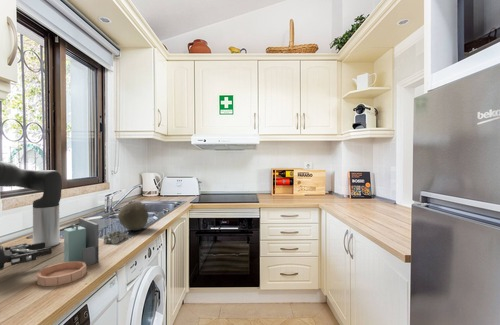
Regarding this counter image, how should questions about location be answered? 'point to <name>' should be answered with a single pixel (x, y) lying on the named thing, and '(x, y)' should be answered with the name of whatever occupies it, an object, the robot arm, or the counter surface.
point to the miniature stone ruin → (114, 237)
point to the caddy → (74, 243)
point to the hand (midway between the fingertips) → (48, 247)
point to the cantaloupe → (133, 216)
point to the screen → (90, 242)
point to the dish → (61, 273)
